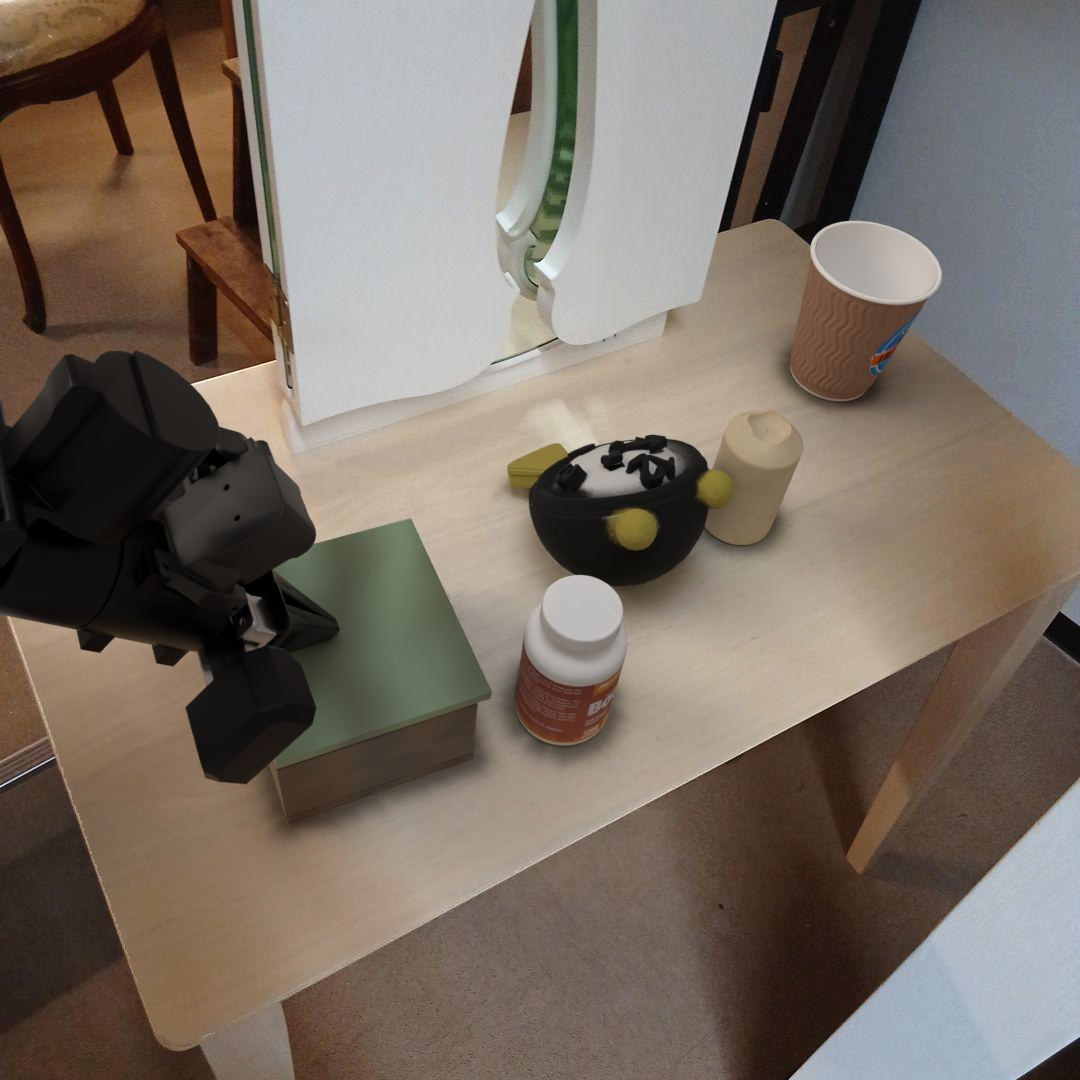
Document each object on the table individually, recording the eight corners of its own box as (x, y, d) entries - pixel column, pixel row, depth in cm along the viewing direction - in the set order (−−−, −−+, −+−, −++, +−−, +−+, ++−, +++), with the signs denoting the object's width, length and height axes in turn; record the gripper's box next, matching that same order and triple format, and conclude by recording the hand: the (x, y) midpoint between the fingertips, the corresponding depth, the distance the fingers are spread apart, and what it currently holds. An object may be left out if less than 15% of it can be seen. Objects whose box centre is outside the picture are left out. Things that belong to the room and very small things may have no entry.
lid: (411, 525, 68) (411, 517, 68) (491, 698, 61) (492, 691, 60) (215, 577, 64) (213, 569, 64) (276, 770, 57) (275, 763, 56)
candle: (689, 530, 79) (720, 436, 72) (710, 481, 83) (741, 386, 75) (760, 556, 78) (799, 463, 71) (778, 505, 82) (817, 412, 74)
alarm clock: (634, 506, 85) (757, 401, 74) (614, 661, 76) (750, 567, 66) (508, 440, 82) (618, 319, 71) (471, 595, 73) (591, 484, 62)
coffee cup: (874, 432, 88) (930, 318, 79) (756, 390, 90) (796, 273, 81) (898, 359, 94) (952, 245, 85) (787, 321, 96) (828, 205, 87)
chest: (399, 591, 73) (399, 528, 68) (472, 759, 66) (478, 703, 61) (230, 640, 70) (215, 577, 64) (287, 823, 62) (276, 770, 57)
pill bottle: (593, 762, 67) (621, 667, 58) (500, 731, 67) (514, 633, 59) (619, 682, 70) (648, 582, 62) (530, 653, 71) (547, 551, 63)
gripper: (243, 619, 42) (491, 678, 54) (146, 321, 52) (373, 427, 64) (83, 777, 45) (349, 800, 57) (21, 470, 56) (258, 543, 68)
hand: (333, 629), depth 61 cm, fingers closed, pressing on lid
